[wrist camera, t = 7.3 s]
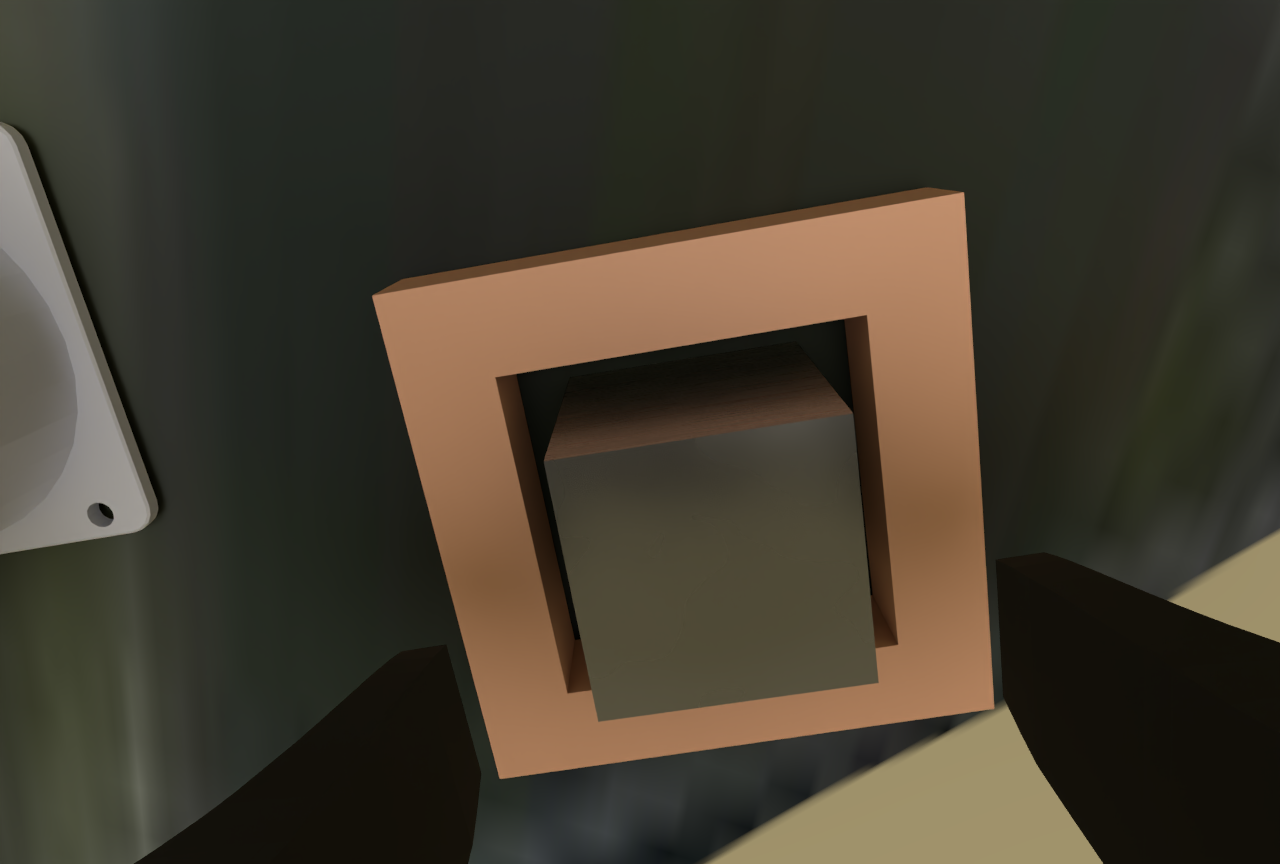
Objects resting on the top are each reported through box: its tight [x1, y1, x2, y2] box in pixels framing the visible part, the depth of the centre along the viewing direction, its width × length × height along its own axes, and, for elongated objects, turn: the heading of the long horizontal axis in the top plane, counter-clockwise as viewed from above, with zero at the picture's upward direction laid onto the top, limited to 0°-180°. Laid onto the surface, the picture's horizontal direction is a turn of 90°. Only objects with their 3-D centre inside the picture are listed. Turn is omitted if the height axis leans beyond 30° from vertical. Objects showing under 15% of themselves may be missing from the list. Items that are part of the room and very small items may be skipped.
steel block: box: [544, 341, 879, 722], centre depth 16 cm, size 4×4×5 cm
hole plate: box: [372, 187, 994, 779], centre depth 17 cm, size 10×10×2 cm
